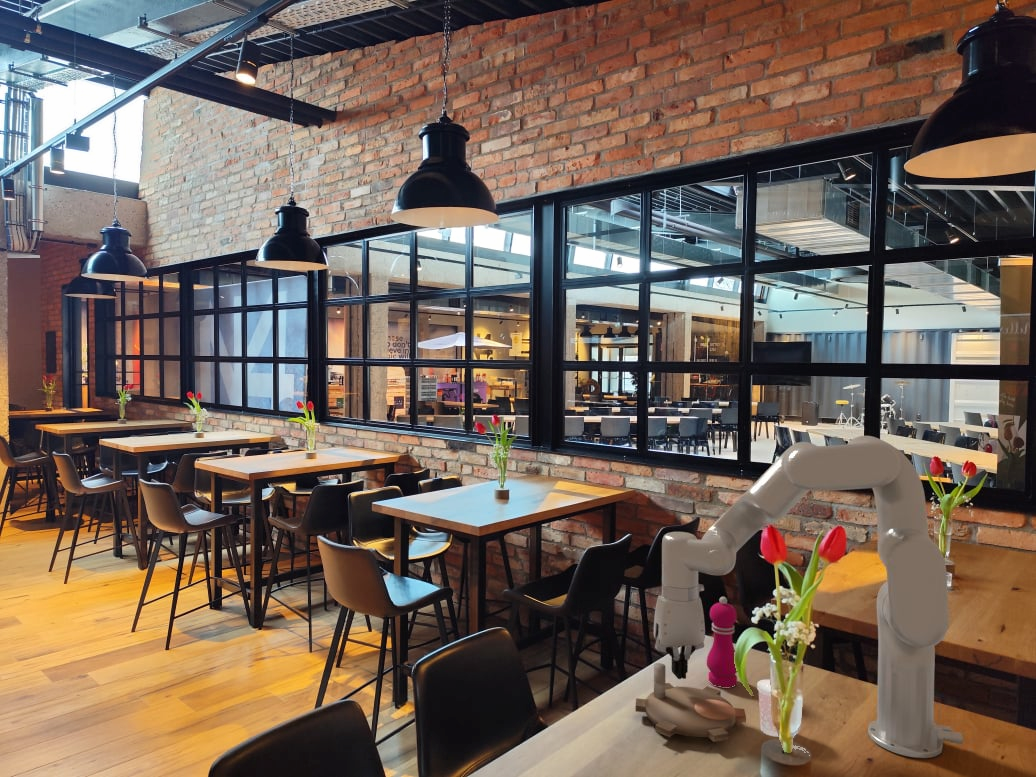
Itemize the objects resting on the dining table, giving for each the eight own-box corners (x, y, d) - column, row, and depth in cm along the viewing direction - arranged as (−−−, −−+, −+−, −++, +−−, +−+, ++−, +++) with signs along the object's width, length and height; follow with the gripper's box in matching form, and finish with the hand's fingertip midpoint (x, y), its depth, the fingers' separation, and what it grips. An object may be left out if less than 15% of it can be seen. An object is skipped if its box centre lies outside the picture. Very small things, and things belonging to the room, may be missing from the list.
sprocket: (671, 679, 155) (671, 645, 155) (759, 709, 141) (760, 672, 141) (618, 716, 139) (618, 678, 139) (711, 754, 125) (712, 712, 125)
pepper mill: (732, 692, 152) (733, 604, 152) (701, 683, 157) (702, 597, 156) (743, 681, 158) (744, 595, 158) (713, 672, 163) (714, 589, 162)
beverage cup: (767, 740, 133) (767, 669, 133) (750, 724, 139) (751, 656, 139) (795, 736, 134) (796, 666, 134) (777, 721, 140) (778, 653, 140)
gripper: (705, 584, 150) (704, 666, 151) (640, 587, 148) (640, 671, 148) (720, 595, 143) (720, 681, 143) (652, 599, 140) (652, 687, 141)
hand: (679, 676), depth 146 cm, fingers closed
